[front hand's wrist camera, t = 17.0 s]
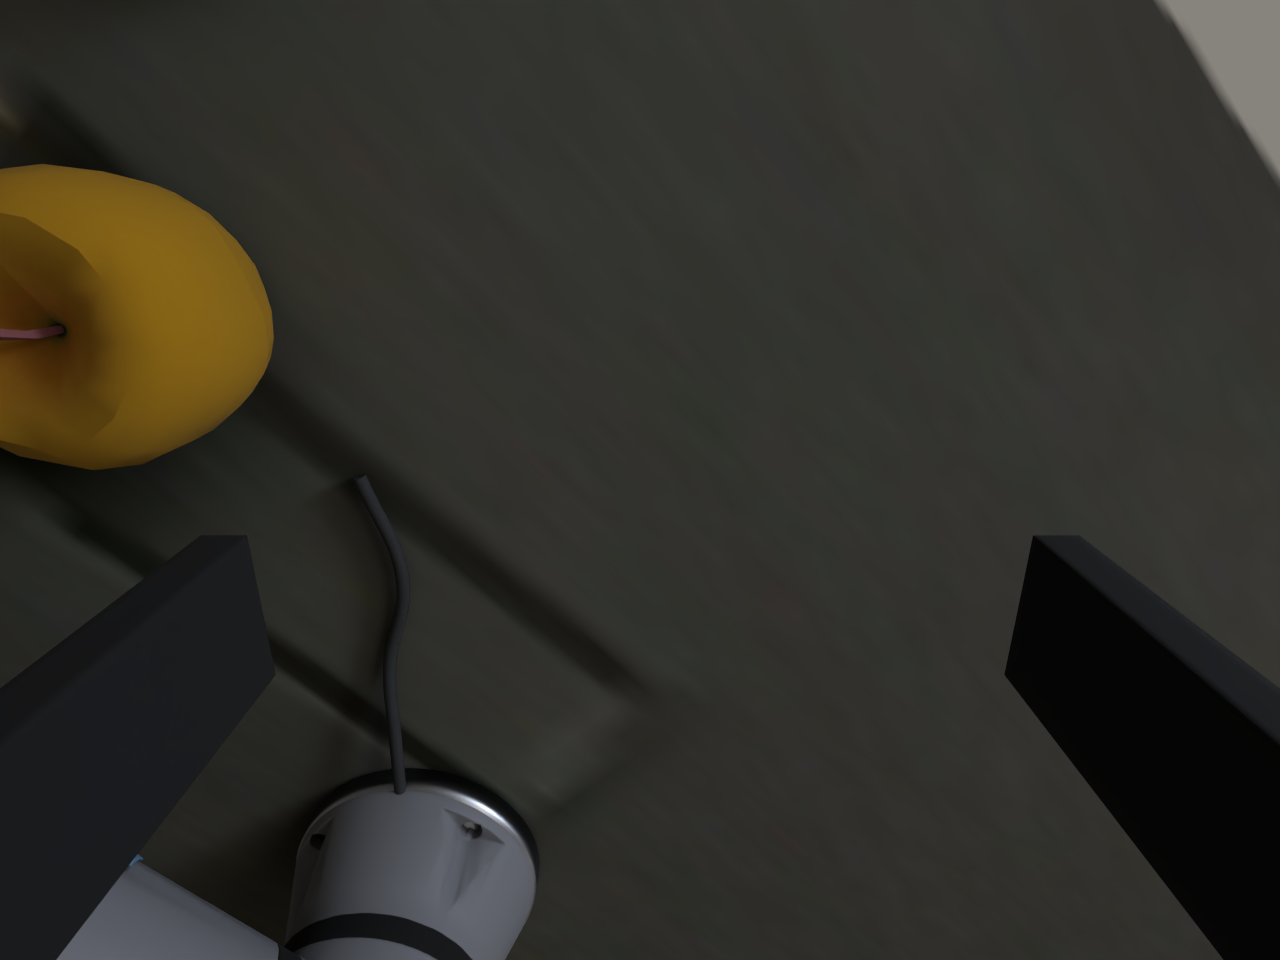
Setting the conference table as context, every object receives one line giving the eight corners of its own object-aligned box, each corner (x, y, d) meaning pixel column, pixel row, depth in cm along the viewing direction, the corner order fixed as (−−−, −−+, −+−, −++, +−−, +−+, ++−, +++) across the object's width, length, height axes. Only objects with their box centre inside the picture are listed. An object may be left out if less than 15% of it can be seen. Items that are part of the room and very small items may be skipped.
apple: (373, 308, 36) (233, 368, 24) (233, 444, 38) (44, 561, 26) (188, 115, 33) (-78, 74, 21) (50, 278, 35) (-256, 324, 24)
